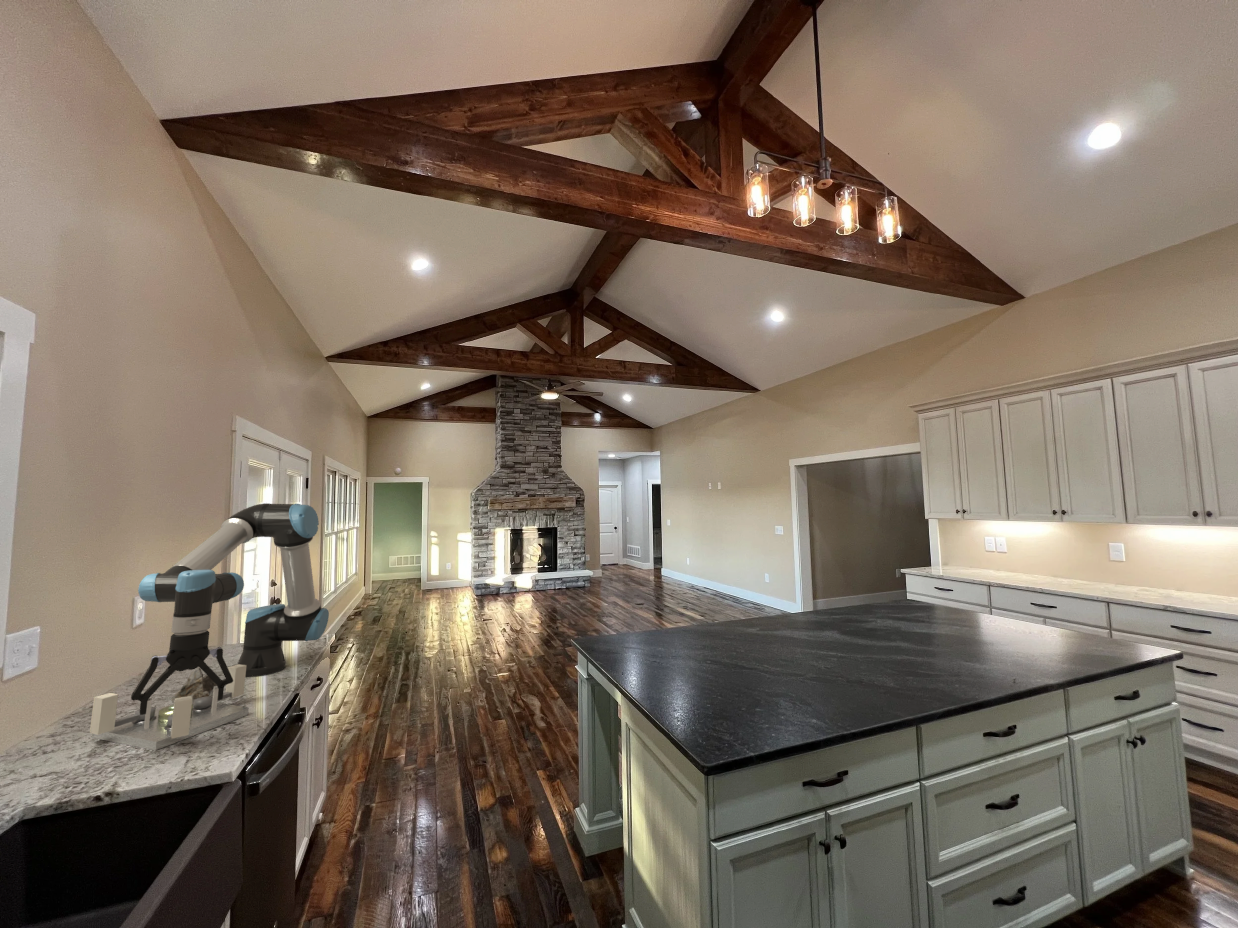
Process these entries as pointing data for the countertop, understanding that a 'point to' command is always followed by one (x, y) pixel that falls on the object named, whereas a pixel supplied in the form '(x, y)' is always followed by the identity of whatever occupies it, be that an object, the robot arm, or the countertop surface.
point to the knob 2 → (180, 717)
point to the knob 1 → (110, 714)
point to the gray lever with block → (227, 687)
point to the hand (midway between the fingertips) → (181, 720)
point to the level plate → (161, 732)
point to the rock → (196, 686)
